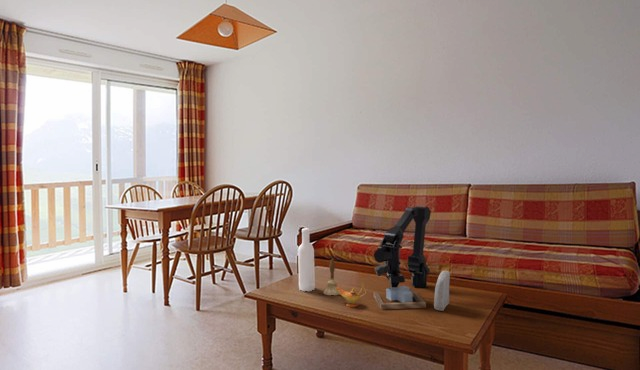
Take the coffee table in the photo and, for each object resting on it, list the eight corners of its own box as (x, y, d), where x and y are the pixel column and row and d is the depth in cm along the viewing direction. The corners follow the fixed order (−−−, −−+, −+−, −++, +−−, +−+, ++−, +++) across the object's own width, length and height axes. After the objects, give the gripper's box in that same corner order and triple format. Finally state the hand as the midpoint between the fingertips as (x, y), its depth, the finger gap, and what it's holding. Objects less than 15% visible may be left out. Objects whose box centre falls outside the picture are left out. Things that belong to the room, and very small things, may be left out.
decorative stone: (446, 312, 154) (445, 275, 153) (431, 310, 157) (430, 274, 156) (451, 304, 163) (450, 269, 163) (436, 302, 166) (436, 267, 166)
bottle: (314, 286, 192) (313, 227, 191) (315, 291, 185) (313, 229, 184) (299, 287, 192) (297, 227, 191) (298, 291, 184) (297, 230, 183)
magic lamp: (337, 297, 175) (336, 273, 174) (370, 305, 163) (370, 280, 163) (327, 301, 169) (327, 277, 169) (361, 310, 158) (361, 284, 157)
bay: (414, 294, 176) (414, 290, 176) (426, 307, 160) (426, 302, 160) (373, 296, 175) (373, 292, 175) (381, 309, 159) (381, 304, 159)
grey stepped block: (405, 295, 176) (404, 285, 176) (418, 301, 167) (418, 291, 167) (386, 298, 173) (386, 288, 172) (398, 305, 163) (398, 295, 163)
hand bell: (343, 291, 184) (342, 258, 183) (337, 296, 176) (336, 262, 176) (327, 289, 187) (327, 257, 187) (320, 294, 180) (320, 260, 179)
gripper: (372, 254, 185) (372, 286, 185) (379, 264, 166) (380, 299, 167) (395, 254, 185) (395, 286, 186) (405, 263, 167) (405, 298, 167)
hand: (393, 292), depth 176 cm, fingers closed
